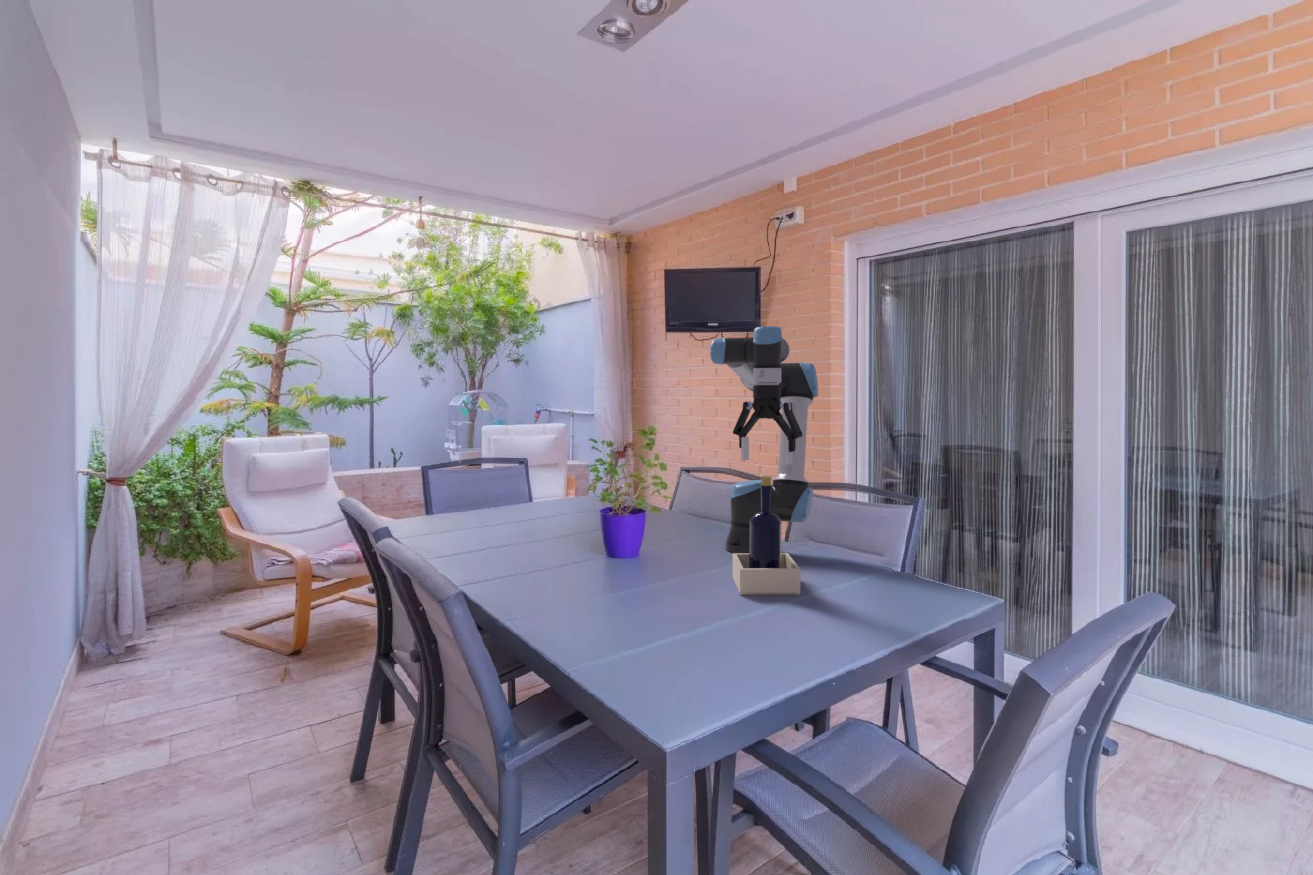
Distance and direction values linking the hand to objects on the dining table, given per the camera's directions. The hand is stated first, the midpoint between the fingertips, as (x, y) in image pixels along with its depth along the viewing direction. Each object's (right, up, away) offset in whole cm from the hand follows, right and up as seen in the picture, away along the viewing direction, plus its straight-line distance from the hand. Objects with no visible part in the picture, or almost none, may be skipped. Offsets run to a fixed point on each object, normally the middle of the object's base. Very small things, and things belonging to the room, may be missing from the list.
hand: (766, 462), depth 173 cm
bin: (0, -34, +3) cm, 35 cm away
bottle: (0, -34, +3) cm, 34 cm away
